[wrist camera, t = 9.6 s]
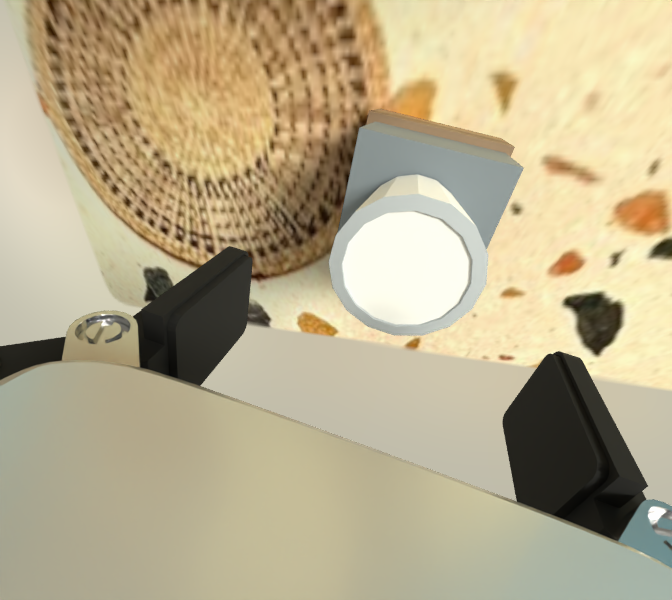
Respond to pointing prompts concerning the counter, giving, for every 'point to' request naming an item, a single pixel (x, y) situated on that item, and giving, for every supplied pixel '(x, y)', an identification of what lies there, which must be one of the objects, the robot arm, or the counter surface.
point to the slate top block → (432, 171)
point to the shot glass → (409, 259)
